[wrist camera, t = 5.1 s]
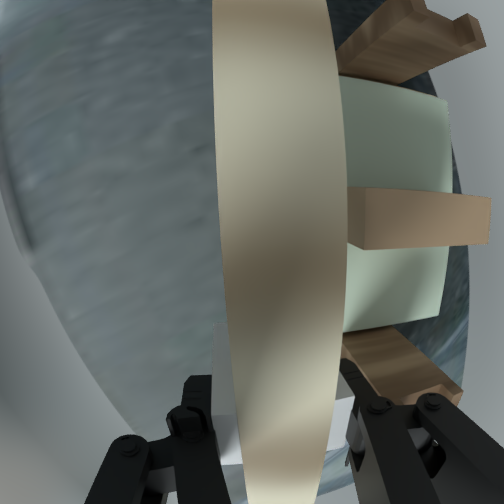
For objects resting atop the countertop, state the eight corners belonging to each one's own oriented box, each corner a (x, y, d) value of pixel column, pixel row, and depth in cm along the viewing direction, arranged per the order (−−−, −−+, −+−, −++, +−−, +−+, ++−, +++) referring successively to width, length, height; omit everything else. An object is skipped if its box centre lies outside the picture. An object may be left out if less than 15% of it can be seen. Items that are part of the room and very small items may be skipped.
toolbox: (261, 80, 26) (315, -42, 8) (391, 95, 27) (517, 47, 9) (266, 318, 32) (313, 457, 13) (387, 305, 33) (493, 392, 14)
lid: (270, 79, 20) (300, 22, 11) (432, 104, 21) (502, 87, 12) (274, 326, 24) (301, 397, 15) (425, 307, 26) (485, 348, 17)
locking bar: (214, -50, 7) (215, -95, 4) (285, -48, 7) (300, -90, 4) (245, 474, 12) (250, 517, 9) (300, 466, 13) (312, 508, 10)
